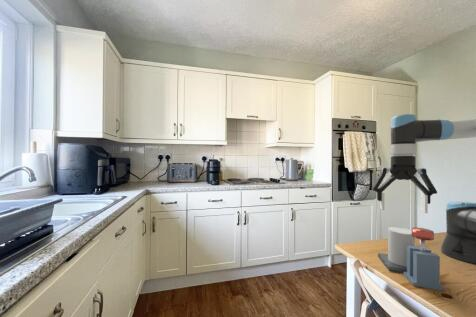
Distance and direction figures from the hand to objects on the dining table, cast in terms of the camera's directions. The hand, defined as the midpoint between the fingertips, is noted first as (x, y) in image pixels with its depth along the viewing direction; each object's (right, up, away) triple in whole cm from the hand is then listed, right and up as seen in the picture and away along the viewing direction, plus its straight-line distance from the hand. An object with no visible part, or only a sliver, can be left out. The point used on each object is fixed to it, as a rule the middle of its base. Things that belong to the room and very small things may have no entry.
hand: (402, 210), depth 81 cm
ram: (-1, -14, -10) cm, 18 cm away
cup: (0, -20, +1) cm, 20 cm away
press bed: (0, -21, +1) cm, 21 cm away
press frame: (-1, -21, -10) cm, 24 cm away
